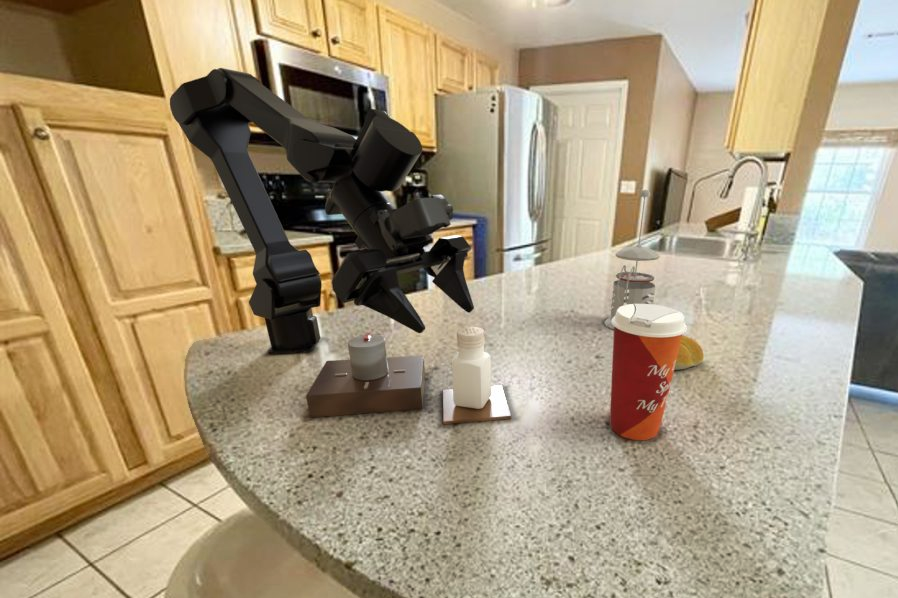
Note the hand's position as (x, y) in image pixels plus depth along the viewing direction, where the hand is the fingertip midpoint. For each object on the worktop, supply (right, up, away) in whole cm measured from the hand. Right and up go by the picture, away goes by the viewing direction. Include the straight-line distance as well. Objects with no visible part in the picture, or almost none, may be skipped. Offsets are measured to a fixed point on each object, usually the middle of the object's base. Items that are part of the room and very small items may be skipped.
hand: (448, 320), depth 51 cm
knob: (-11, -7, +3) cm, 13 cm away
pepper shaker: (+3, -10, +2) cm, 11 cm away
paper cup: (+22, -13, -2) cm, 26 cm away
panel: (-11, -9, +4) cm, 15 cm away
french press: (+30, +1, +31) cm, 43 cm away
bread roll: (+33, -5, +16) cm, 37 cm away
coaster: (+3, -11, +2) cm, 11 cm away
